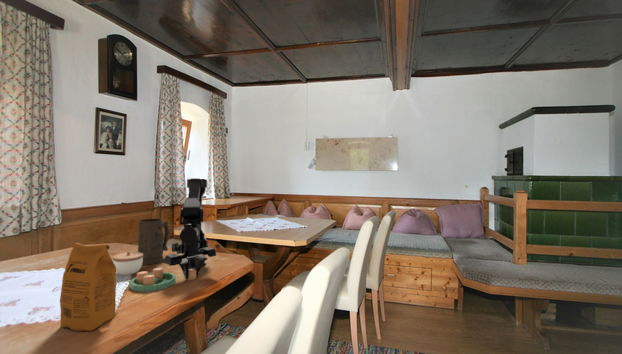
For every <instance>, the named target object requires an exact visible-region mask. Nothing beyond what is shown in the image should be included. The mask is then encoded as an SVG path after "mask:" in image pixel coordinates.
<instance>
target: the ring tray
mask: <svg viewBox="0 0 622 354" xmlns="http://www.w3.org/2000/svg"><path fill="white" fill-rule="evenodd" d="M148 275H153V272H148ZM176 282H177V274H175V273H172V272H164V271H163V280H162V281H158V278H157V277H155V284H153V285H137V276H136V277H133V278H131V279H130V282H129V289H130V290H132V291H134V292H141V293H142V292H144V293H146V292H155V291H159V290H164V289H167V288H170V287H171V286H173V285H175V284H176Z"/></svg>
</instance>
